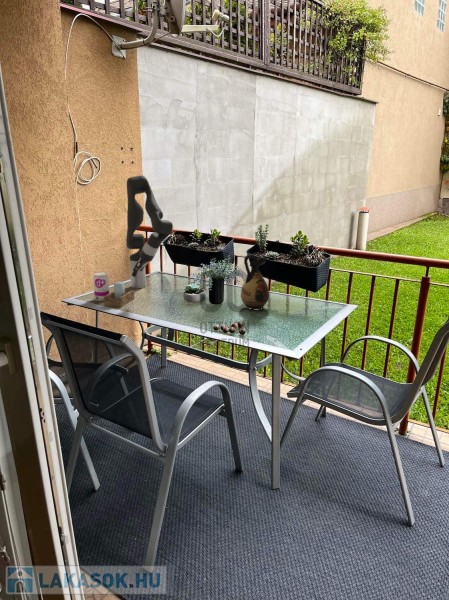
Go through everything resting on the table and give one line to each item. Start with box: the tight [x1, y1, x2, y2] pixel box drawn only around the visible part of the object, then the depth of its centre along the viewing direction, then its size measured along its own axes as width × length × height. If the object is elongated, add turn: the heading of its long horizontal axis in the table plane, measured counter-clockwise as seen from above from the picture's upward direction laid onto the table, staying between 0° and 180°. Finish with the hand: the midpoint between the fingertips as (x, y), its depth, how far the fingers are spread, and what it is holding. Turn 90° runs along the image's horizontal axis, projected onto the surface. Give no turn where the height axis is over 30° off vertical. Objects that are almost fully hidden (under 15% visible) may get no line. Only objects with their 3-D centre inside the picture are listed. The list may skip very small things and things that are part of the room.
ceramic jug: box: [240, 253, 270, 309], centre depth 239 cm, size 17×15×30 cm
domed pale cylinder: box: [113, 281, 126, 301], centre depth 248 cm, size 6×6×10 cm
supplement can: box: [92, 271, 110, 302], centre depth 252 cm, size 8×8×15 cm
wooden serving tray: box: [103, 289, 135, 308], centre depth 249 cm, size 16×10×5 cm, turn 165°
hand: (136, 273), depth 245 cm, fingers open, 8 cm apart
